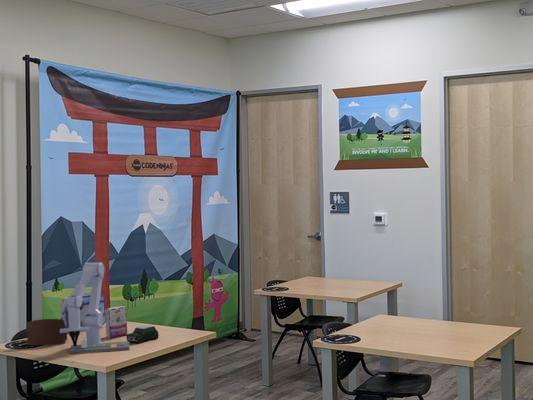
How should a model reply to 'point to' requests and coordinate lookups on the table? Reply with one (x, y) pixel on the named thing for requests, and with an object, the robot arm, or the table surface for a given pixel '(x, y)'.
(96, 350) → the console board
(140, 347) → the table surface
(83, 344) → the fader knob
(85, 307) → the lunch box
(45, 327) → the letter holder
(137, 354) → the table surface
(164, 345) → the table surface
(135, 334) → the miniature car
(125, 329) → the candy bar box
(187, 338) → the table surface
